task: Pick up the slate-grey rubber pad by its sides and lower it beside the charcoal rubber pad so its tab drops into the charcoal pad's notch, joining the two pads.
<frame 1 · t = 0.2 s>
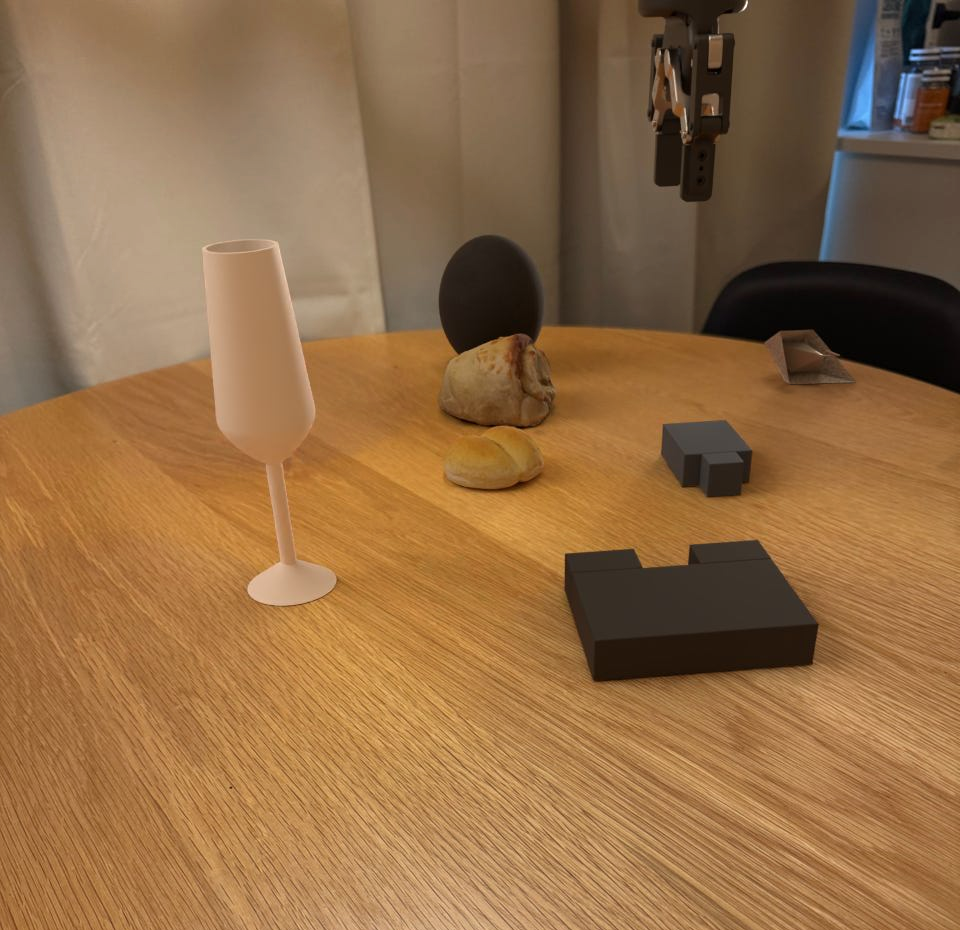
hand: (680, 193, 76), 24 cm above the table, tool pointing down, fingers open, 8 cm apart
paper boat: (801, 385, 111), on the table
bread roll: (494, 475, 93), on the table
pastry: (497, 410, 108), on the table
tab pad: (703, 467, 92), on the table
decorative egg: (493, 369, 121), on the table
champagne flute: (292, 586, 76), on the table
notch pad: (679, 624, 68), on the table
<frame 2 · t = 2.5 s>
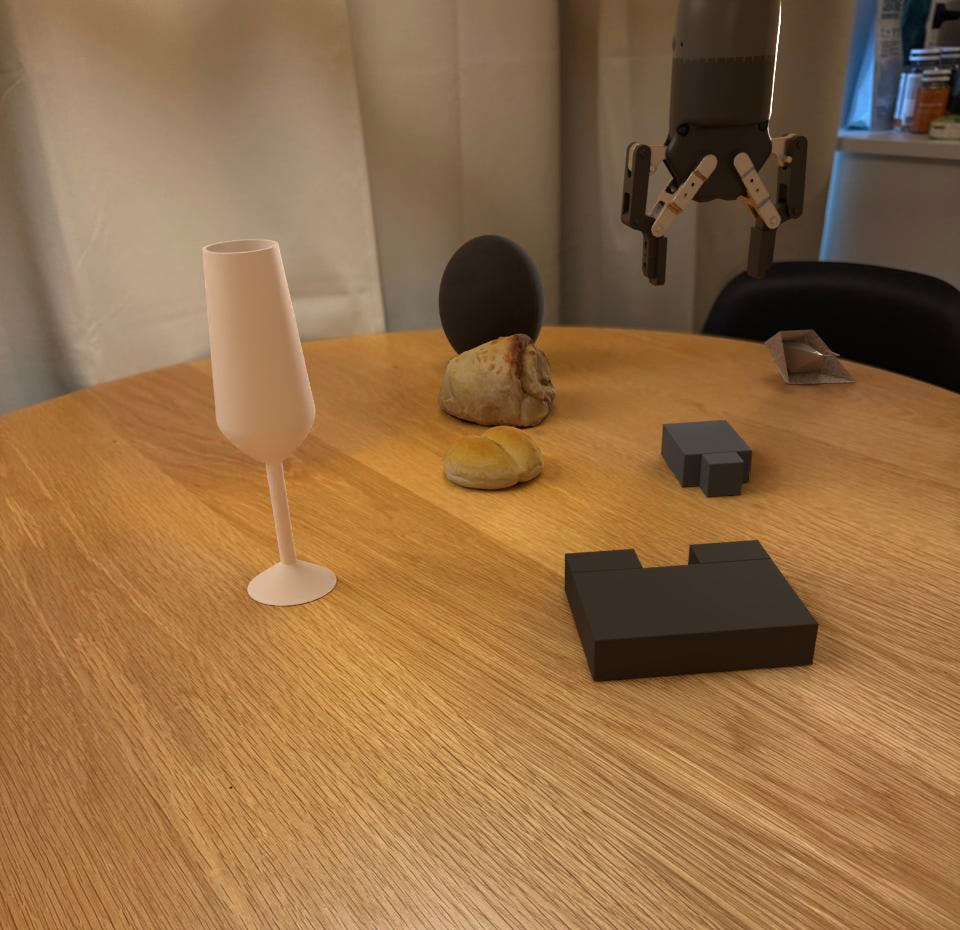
hand: (706, 280, 82), 17 cm above the table, tool pointing down, fingers open, 8 cm apart
nothing on the table moved.
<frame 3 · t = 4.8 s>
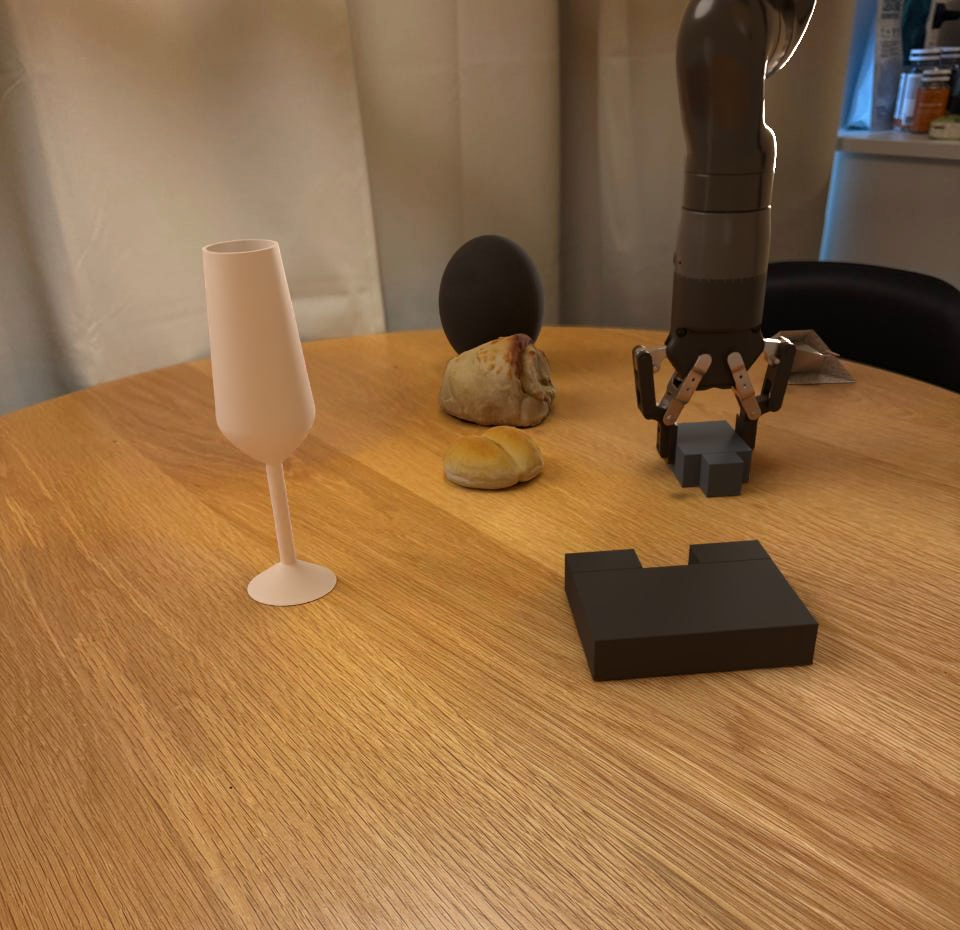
hand: (704, 458, 91), 1 cm above the table, tool pointing down, fingers closed on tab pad, 6 cm apart
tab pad: (703, 468, 92), on the table, touching gripper
everything else where it was.
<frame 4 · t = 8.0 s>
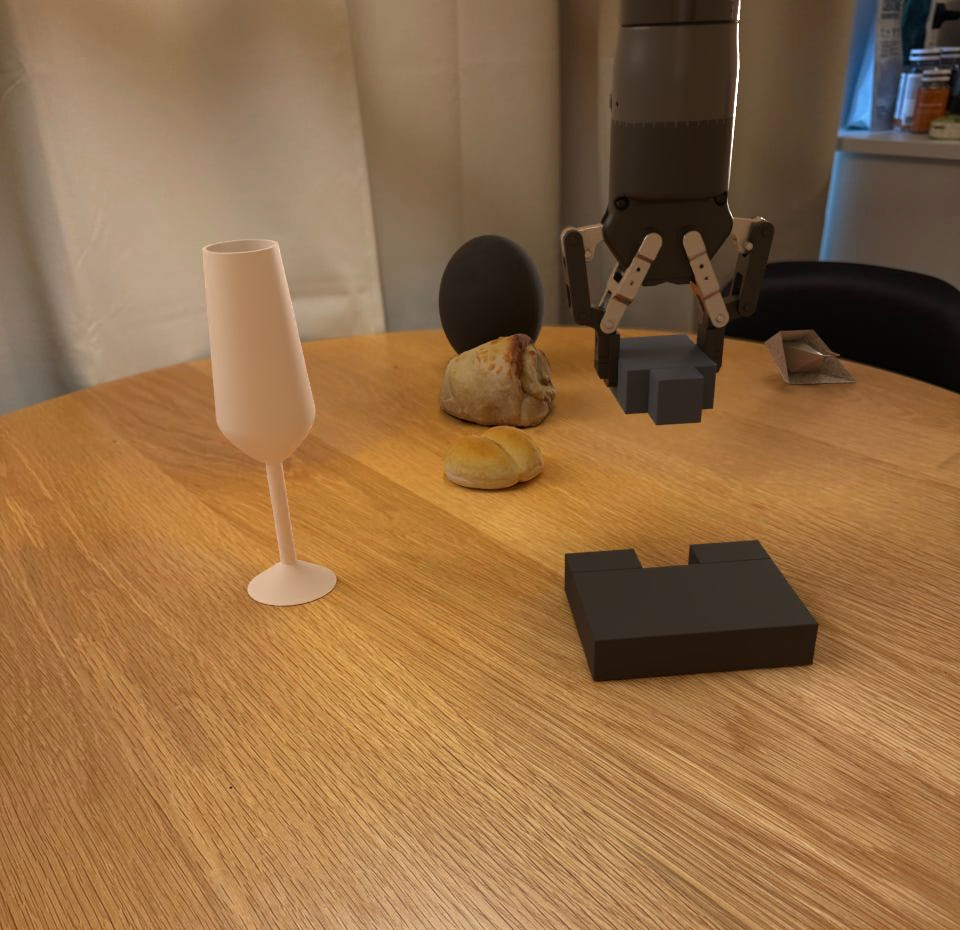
hand: (657, 380, 70), 14 cm above the table, tool pointing down, fingers closed on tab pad, 6 cm apart
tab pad: (655, 393, 71), point 13 cm above the table, touching gripper
everything else where it was.
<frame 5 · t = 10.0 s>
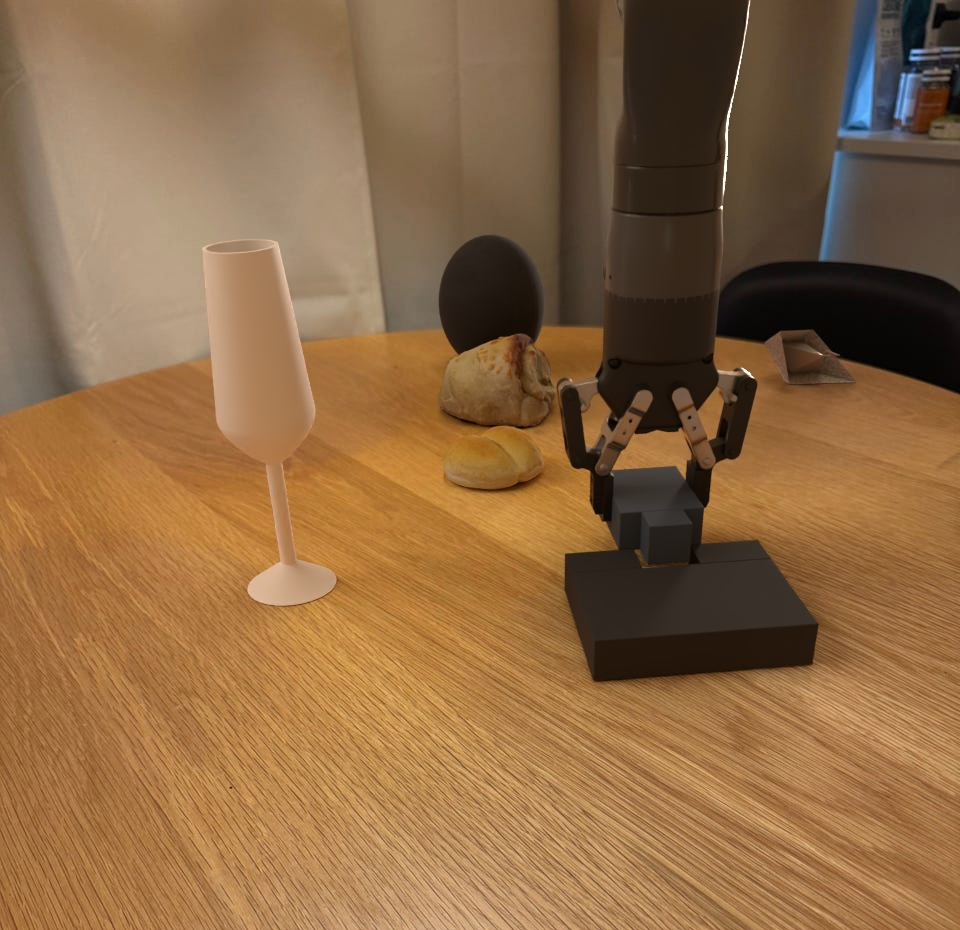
hand: (648, 513, 75), 4 cm above the table, tool pointing down, fingers closed on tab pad, 6 cm apart
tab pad: (647, 525, 75), point 3 cm above the table, touching gripper
everything else where it was.
when the fingers open (1 cm above the table, at t = 11.3 s): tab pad stays where it is, on the table.
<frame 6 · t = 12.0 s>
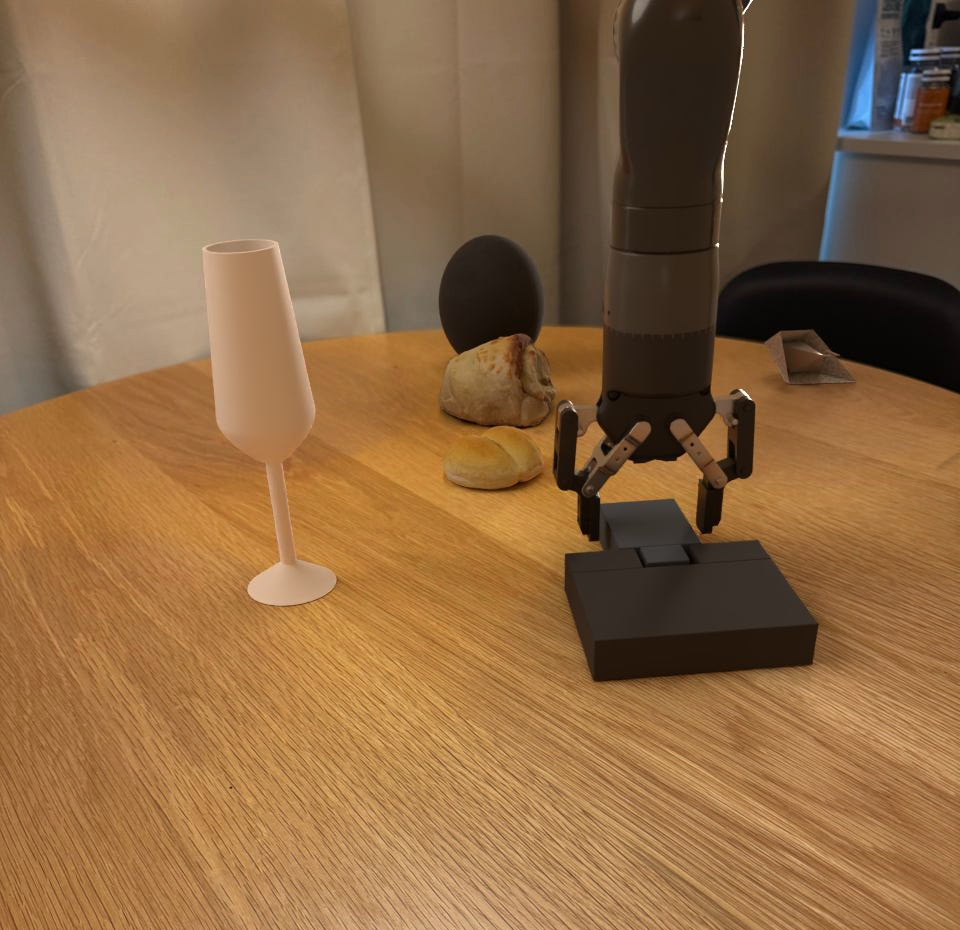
hand: (648, 533, 76), 2 cm above the table, tool pointing down, fingers open, 8 cm apart
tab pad: (646, 557, 77), on the table
everything else where it was.
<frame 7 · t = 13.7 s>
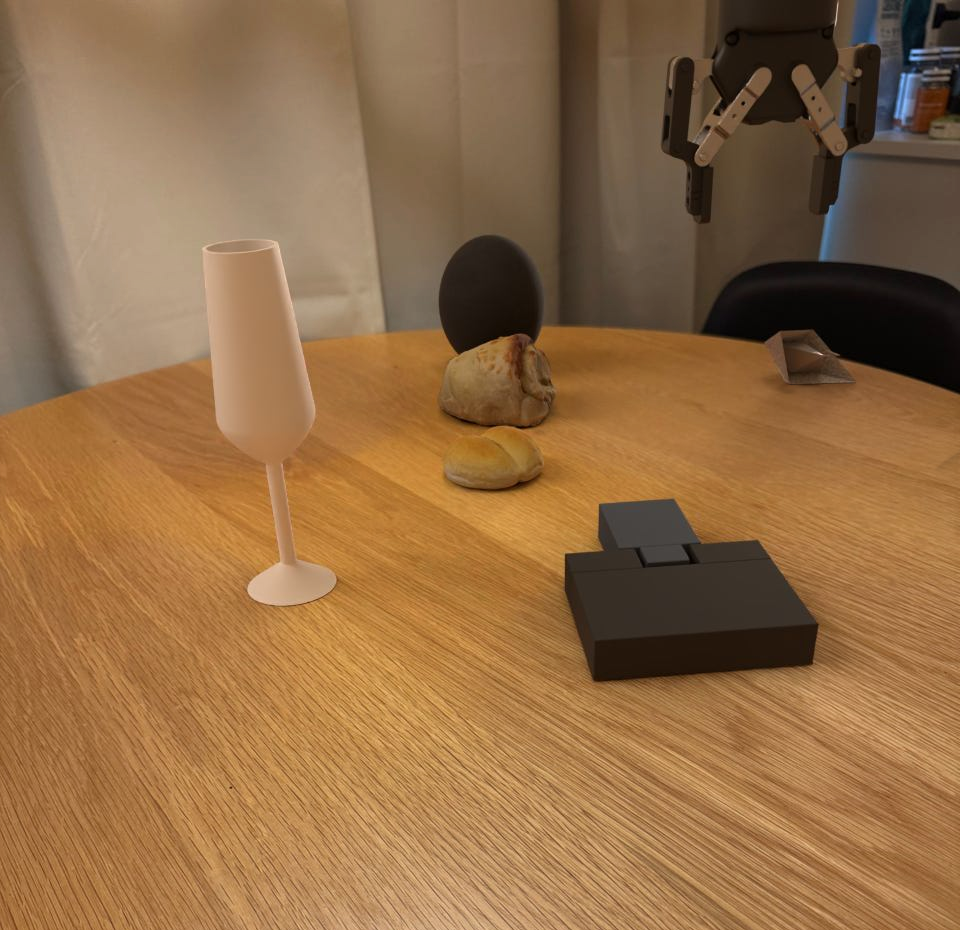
hand: (760, 217, 72), 23 cm above the table, tool pointing down, fingers open, 8 cm apart
nothing on the table moved.
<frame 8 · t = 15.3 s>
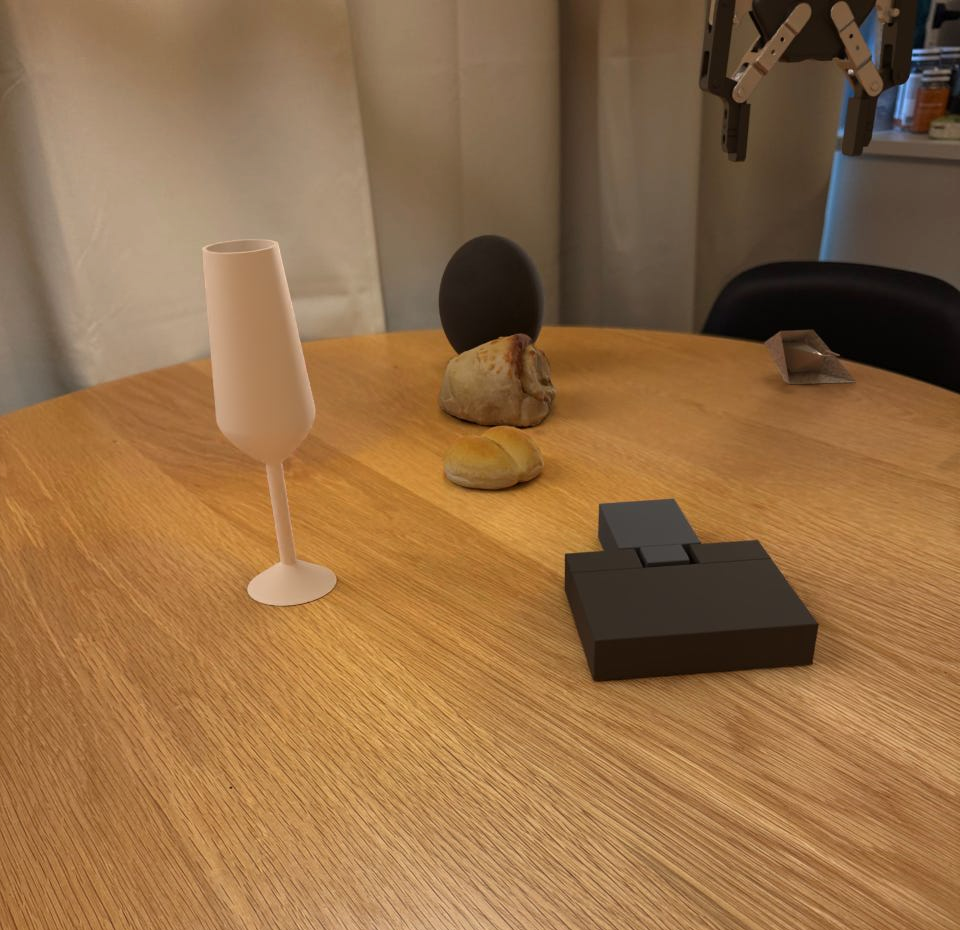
hand: (794, 158, 73), 26 cm above the table, tool pointing down, fingers open, 8 cm apart
nothing on the table moved.
at the end: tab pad 0.1 cm from the target spot on the table beside the notch pad, on the table; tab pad tilted 0°; the gripper is holding nothing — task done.
